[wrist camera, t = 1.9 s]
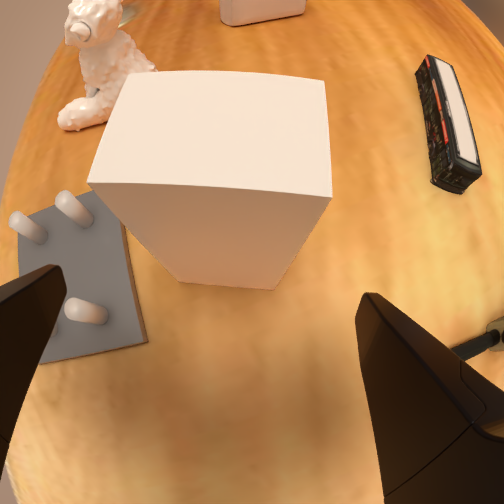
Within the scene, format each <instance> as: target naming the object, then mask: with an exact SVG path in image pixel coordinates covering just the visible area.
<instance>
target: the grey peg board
mask: <svg viewBox="0 0 504 504" xmlns="http://www.w3.org/2000/svg"><path fill="white" fill-rule="evenodd" d="M9 226H10V228H12V229H14V230H15V231H17V232H18V262H19V277H21V276H23V275H25V274H28V273H30V272H32V271H34V270H36V269H39V268H41V267H43V266H45V265H48V264H54V265H59V266H60V267H61V268H62V271H63V275H64V278H65V282H66V286H67V294H66V297H65V300H64V302H63V305H62V308H61V310H60V313H59V315H58V318H57V321H56V324H55V326H54V329H53V332H52V334H51V336H50V339H49V341H48V343H47V345H46V348H45V350H44V352H43V354H42V357H41V359H40V361H39V364H45V363H51V362H56V361H61V360H66V359H71V358H76V357H81V356H86V355H91V354H96V353H101V352H105V351H110V350H114V349H119V348H123V347H127V346H132V345H136V344H140V343H145V342H148V339H147V335H146V331H145V327H144V323H143V318H142V314H141V310H140V305H139V301H138V296H137V292H136V287H135V282H134V277H133V272H132V267H131V262H130V256H129V250H128V244H127V238H126V232H125V226H124V224H123V223H122V222H121V221H120V220H119V219H118V218H117V217H116V215H115V214H114V213H113V212H112V211H111V210H110V209H109V208H108V207H107V205H106V204H105V203H104V202H103V201H102V200H101V199H100V198H99V196H98V195H97V194H96V193H95V192H94V191H90V192H87V193H84V194H82V195H79V196H76V197H74V196H73V195H72V194H71V193H70V192H69V191H68V190H63V191H61V192H60V193H59V194H58V195H57V196H56V199H55V205H53V206H51V207H48V208H46V209H43V210H41V211H39V212H36V213H34V214H32V215H29V216H25V215H24V214H22V213H21V212H19V211H15V212H13V213H12V214H11V216H10V218H9ZM39 364H38V365H39Z"/></svg>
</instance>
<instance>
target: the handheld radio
mask: <svg viewBox="0 0 504 504" xmlns="http://www.w3.org/2000/svg"><path fill="white" fill-rule="evenodd" d="M486 331H487V333H486V334H485V335H483V336H479V337H477V338H474V339H472V340H470V341H468V342H466V343H464V344H461V345H459V346H457V347H454V348H452V349H450V350H451V351H452V352H454V353H455V354H456V355H457V356H459V357H460V360H461V359H462V360H464V361H466V360H468V359H470V358H472V357H474V356H476V355H478V354H480V353H482V352H484V351H485V350H486V349H488V348H489V349H490V351H504V316H503V317H501V318H499V319H497V320H495V321H493V322H491V323H489V324H488V326H487V328H486Z"/></svg>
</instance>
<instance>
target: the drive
mask: <svg viewBox="0 0 504 504" xmlns="http://www.w3.org/2000/svg"><path fill="white" fill-rule="evenodd" d="M87 184H88V185H89V186H90V187H91V188H92V189H93V191H94V192H95V193H96V194H97V195H98V196H99V198H100V199H101V200H102V201H103V202H104V203H105V204H106V205H107V207H108V208H109V209H110V210H111V211H112V212H113V213H114V214H115V215H116V217H117V218H118V219H119V220H120V221H121V222H122V223H123V224H124V225H125V226H126V228H127V229H128V230H129V231H130V232H131V233H132V234H133V235H134V236H135V237H136V238H137V239H138V240H139V242H140V243H141V244H142V245H143V246H144V247H145V248H146V249H147V250H148V251H149V252H150V253H151V254H152V255H153V256H154V257H155V258H156V259H157V260H158V261H159V262H160V264H161V265H162V266H163V267H164V268H165V269H166V270H167V271H168V272H169V273H170V274H171V275H172V276H173V277H174V278H175V279H176V280H177V281H178V282H185V283H195V284H206V285H217V286H228V287H240V288H253V289H266V290H274V289H275V288H276V286H277V285H278V283H279V282H280V280H281V279H282V277H283V275H284V274H285V272H286V271H287V269H288V268H289V266H290V265H291V263H292V261H293V260H294V258H295V257H296V255H297V254H298V252H299V250H300V249H301V247H302V246H303V244H304V243H305V241H306V239H307V238H308V236H309V235H310V233H311V231H312V230H313V228H314V227H315V225H316V223H317V222H318V220H319V218H320V217H321V215H322V214H323V212H324V210H325V209H326V207H327V205H328V204H329V202H330V201H331V199H332V177H331V158H330V142H329V128H328V116H327V105H326V95H325V85H324V81H321V80H315V79H308V78H301V77H293V76H284V75H275V74H264V73H251V72H234V71H162V72H145V73H132V74H129V75H128V77H127V79H126V81H125V83H124V85H123V88H122V90H121V92H120V94H119V97H118V99H117V101H116V103H115V106H114V108H113V110H112V113H111V115H110V118H109V120H108V123H107V125H106V128H105V130H104V133H103V136H102V138H101V141H100V144H99V147H98V149H97V152H96V155H95V158H94V161H93V164H92V167H91V170H90V173H89V176H88V179H87Z"/></svg>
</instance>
